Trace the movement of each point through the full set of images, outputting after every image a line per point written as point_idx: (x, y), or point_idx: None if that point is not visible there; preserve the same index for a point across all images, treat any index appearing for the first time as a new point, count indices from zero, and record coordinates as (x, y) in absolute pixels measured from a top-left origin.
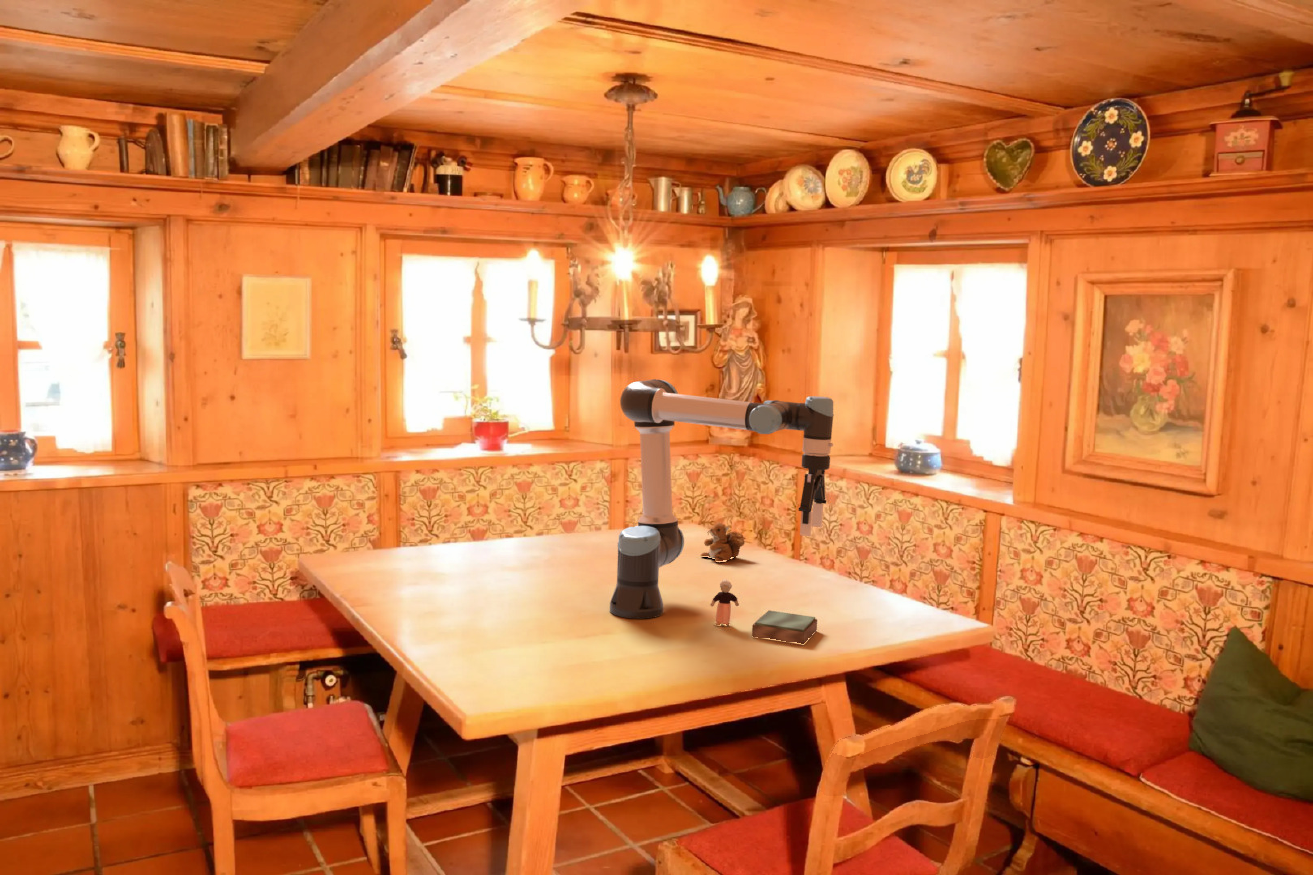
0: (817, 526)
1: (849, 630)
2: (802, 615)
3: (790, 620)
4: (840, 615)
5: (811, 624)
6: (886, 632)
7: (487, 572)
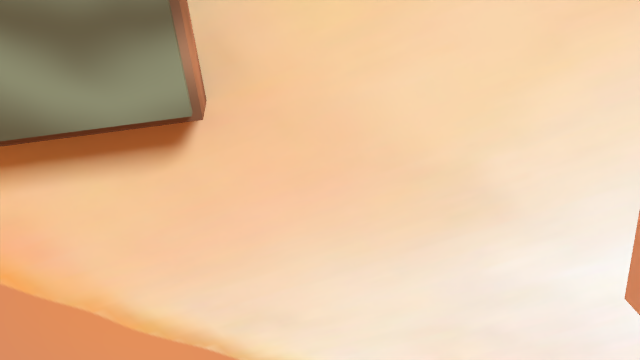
0: (634, 263)
1: (303, 197)
2: (175, 56)
3: (45, 39)
4: (492, 99)
5: (100, 129)
6: (358, 298)
7: None
